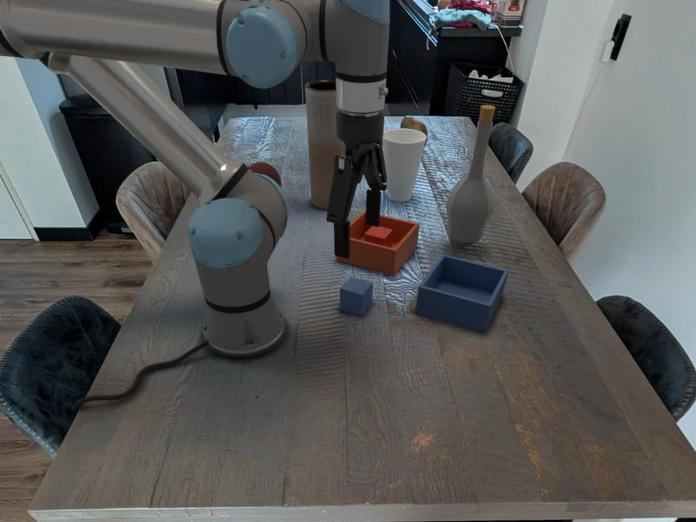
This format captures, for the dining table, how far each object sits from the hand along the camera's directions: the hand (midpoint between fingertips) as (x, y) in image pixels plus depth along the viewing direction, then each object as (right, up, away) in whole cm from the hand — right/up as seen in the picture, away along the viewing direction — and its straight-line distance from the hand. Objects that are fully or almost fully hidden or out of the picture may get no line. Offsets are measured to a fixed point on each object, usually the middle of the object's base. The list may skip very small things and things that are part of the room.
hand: (358, 240), depth 89 cm
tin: (+18, +60, +77) cm, 99 cm away
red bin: (+4, +6, +25) cm, 26 cm away
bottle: (+25, +8, +28) cm, 39 cm away
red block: (+4, +6, +24) cm, 25 cm away
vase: (-9, +26, +44) cm, 52 cm away
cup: (+11, +30, +48) cm, 57 cm away
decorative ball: (-27, +26, +43) cm, 57 cm away
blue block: (0, -10, +10) cm, 14 cm away
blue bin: (+21, -9, +11) cm, 26 cm away
